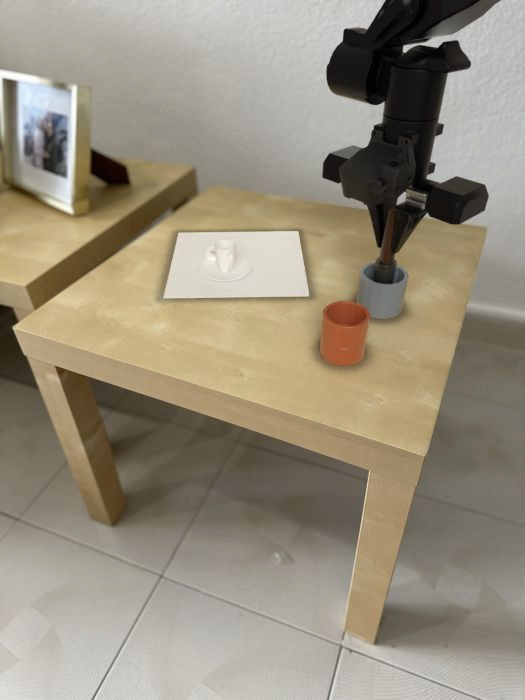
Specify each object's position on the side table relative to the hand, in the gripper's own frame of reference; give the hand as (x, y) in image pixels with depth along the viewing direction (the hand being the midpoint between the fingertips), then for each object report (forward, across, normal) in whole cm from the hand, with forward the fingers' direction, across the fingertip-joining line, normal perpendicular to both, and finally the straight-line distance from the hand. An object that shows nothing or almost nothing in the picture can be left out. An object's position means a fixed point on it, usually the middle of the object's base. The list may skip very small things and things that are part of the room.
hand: (388, 249), depth 63 cm
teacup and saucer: (+8, -22, -6) cm, 24 cm away
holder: (+8, +3, -11) cm, 14 cm away
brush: (+6, 0, 0) cm, 6 cm away
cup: (+8, 0, 0) cm, 8 cm away
